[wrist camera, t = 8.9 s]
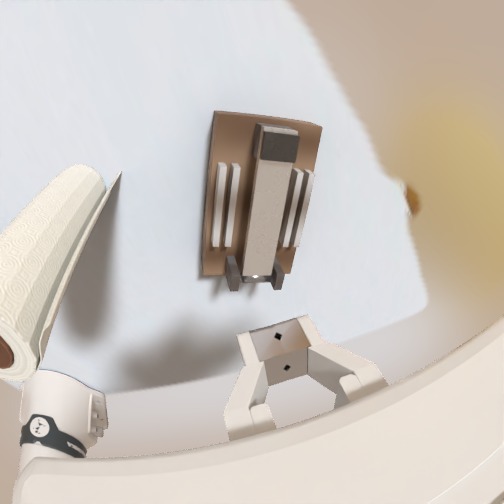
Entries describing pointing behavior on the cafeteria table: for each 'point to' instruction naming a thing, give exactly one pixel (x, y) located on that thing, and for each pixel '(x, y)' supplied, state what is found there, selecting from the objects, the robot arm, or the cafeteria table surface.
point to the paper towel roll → (43, 264)
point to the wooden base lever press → (240, 191)
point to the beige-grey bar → (268, 201)
